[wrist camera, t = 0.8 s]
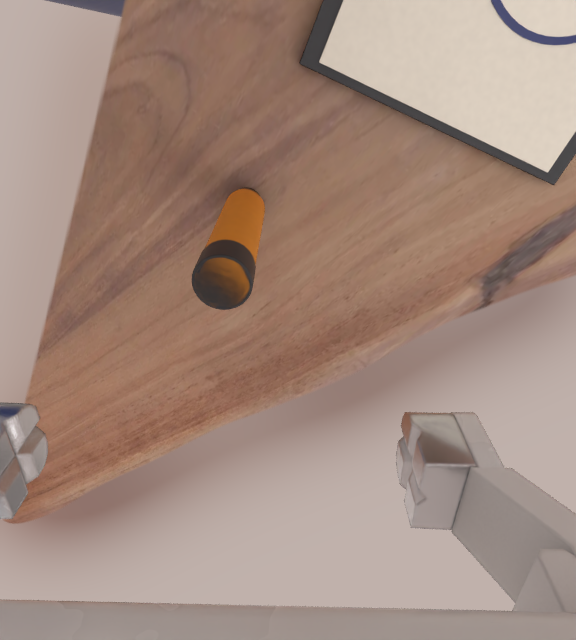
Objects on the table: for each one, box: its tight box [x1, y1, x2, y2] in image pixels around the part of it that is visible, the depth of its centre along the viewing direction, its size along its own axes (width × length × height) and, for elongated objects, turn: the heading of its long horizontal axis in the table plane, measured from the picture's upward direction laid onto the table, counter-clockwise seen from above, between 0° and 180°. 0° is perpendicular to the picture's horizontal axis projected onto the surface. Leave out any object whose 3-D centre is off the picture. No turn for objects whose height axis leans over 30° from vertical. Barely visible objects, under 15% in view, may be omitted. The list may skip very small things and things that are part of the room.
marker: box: [192, 188, 265, 310], centre depth 26 cm, size 3×3×13 cm
